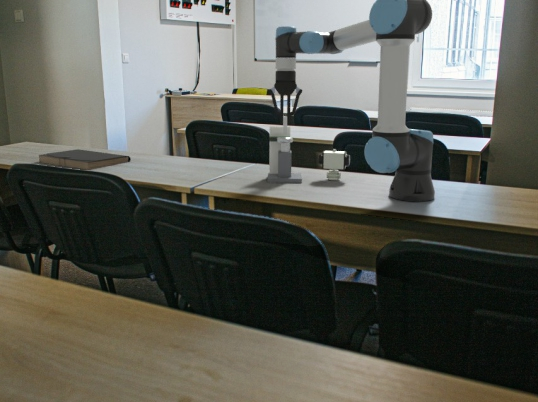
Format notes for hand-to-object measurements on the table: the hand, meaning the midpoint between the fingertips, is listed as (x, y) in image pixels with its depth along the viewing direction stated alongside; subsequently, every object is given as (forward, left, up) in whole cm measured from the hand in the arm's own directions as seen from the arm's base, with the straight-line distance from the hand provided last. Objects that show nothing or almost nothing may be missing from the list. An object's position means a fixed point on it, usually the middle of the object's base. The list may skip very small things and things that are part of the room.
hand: (285, 133), depth 219 cm
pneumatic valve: (-14, -13, -18) cm, 26 cm away
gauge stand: (0, 0, -18) cm, 18 cm away
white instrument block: (+1, +1, -13) cm, 13 cm away
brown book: (+91, +31, -19) cm, 98 cm away
